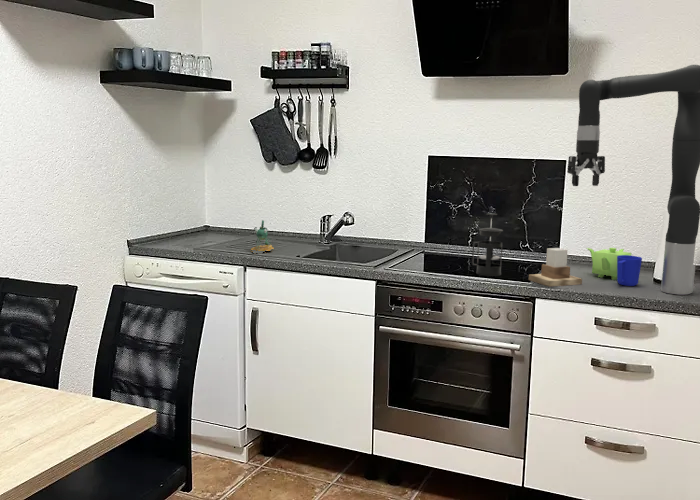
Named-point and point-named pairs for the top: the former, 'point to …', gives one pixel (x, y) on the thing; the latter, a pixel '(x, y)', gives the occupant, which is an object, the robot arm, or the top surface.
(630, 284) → the mug
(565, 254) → the cube
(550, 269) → the base block
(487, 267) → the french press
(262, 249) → the frog figurine
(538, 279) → the board
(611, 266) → the kettle
